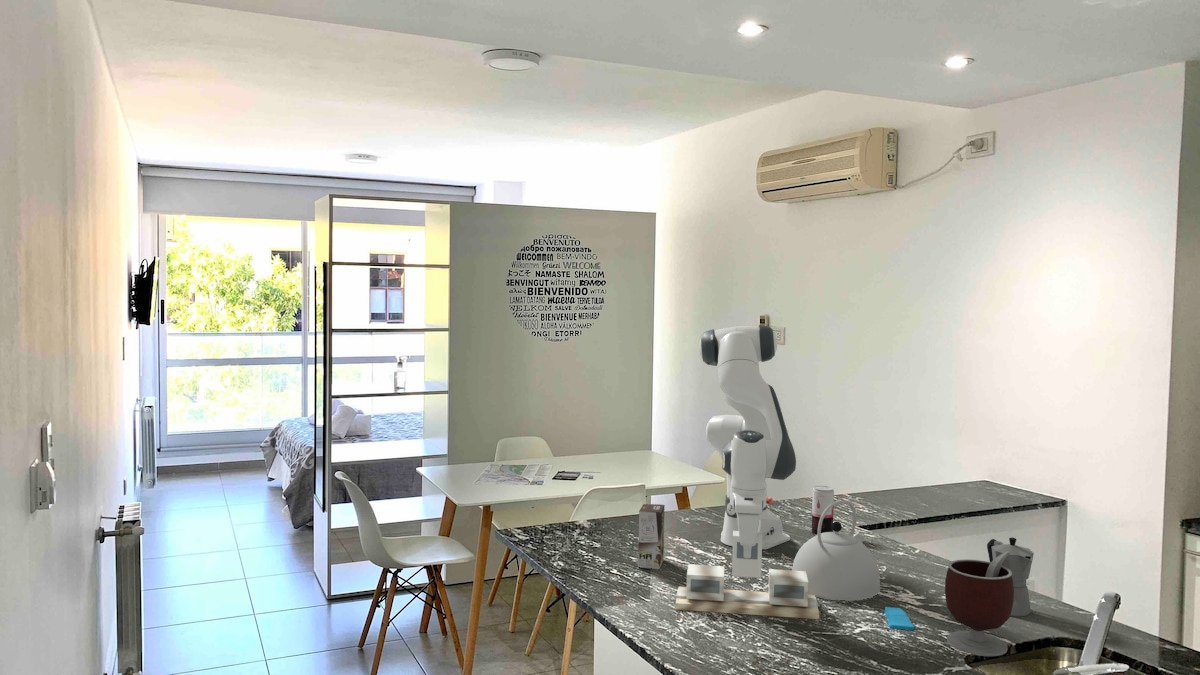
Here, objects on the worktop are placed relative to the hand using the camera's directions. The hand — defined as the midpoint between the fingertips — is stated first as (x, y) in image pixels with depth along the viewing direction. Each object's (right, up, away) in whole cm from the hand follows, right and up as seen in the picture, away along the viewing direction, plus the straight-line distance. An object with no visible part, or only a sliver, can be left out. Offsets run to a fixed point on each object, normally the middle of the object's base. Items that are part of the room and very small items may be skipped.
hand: (746, 553), depth 212 cm
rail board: (0, -13, +1) cm, 13 cm away
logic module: (0, -5, 0) cm, 5 cm away
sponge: (+35, -14, -7) cm, 38 cm away
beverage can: (+35, -10, +63) cm, 73 cm away
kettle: (+27, -13, +17) cm, 34 cm away
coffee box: (-22, -11, +32) cm, 40 cm away
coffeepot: (+64, -14, +1) cm, 66 cm away
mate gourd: (+48, -15, -21) cm, 55 cm away
